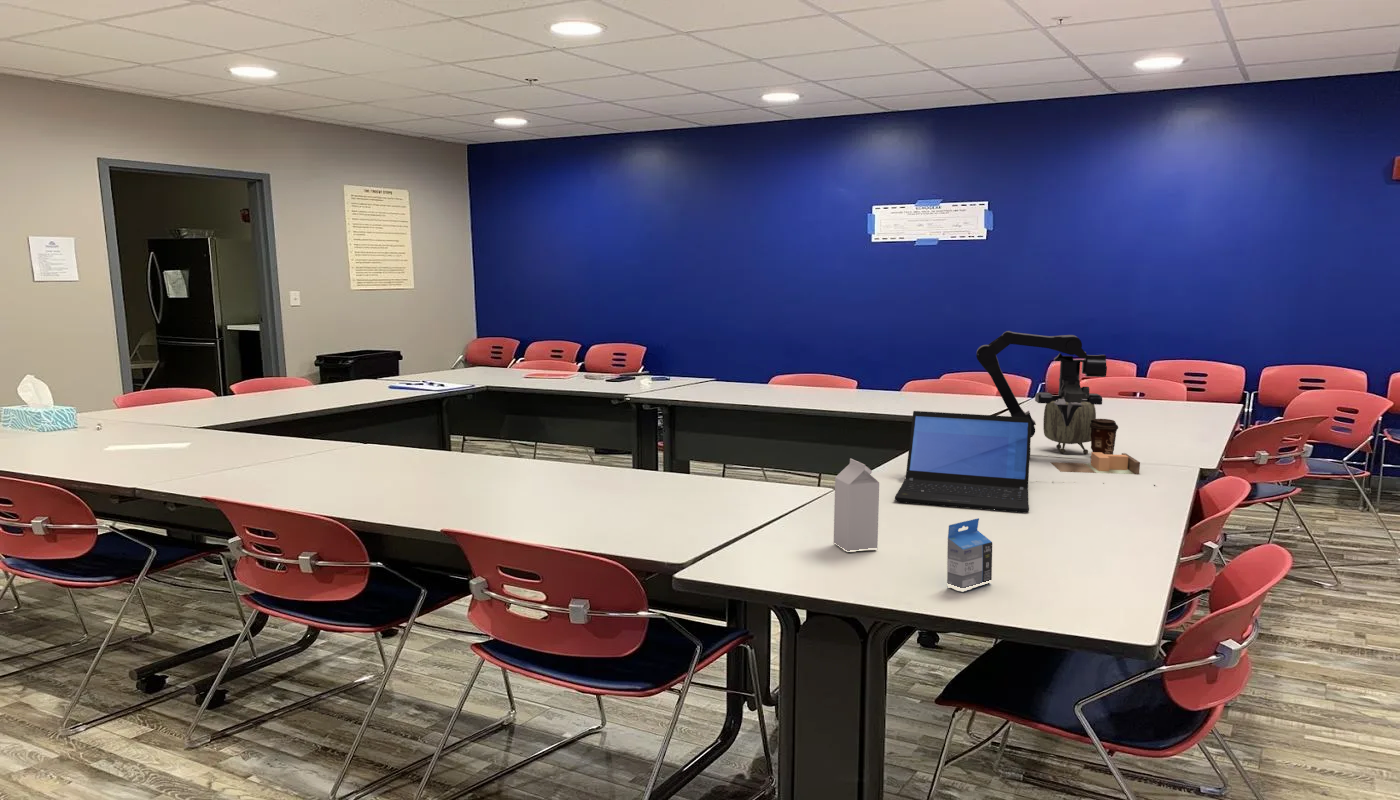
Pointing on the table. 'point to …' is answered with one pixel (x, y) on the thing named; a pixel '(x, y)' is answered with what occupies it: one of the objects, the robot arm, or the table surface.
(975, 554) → the label tape box
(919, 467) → the laptop
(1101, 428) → the coffee cup
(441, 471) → the table surface
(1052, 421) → the tabletop clock
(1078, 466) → the board
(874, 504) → the milk carton
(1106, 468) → the tee block
